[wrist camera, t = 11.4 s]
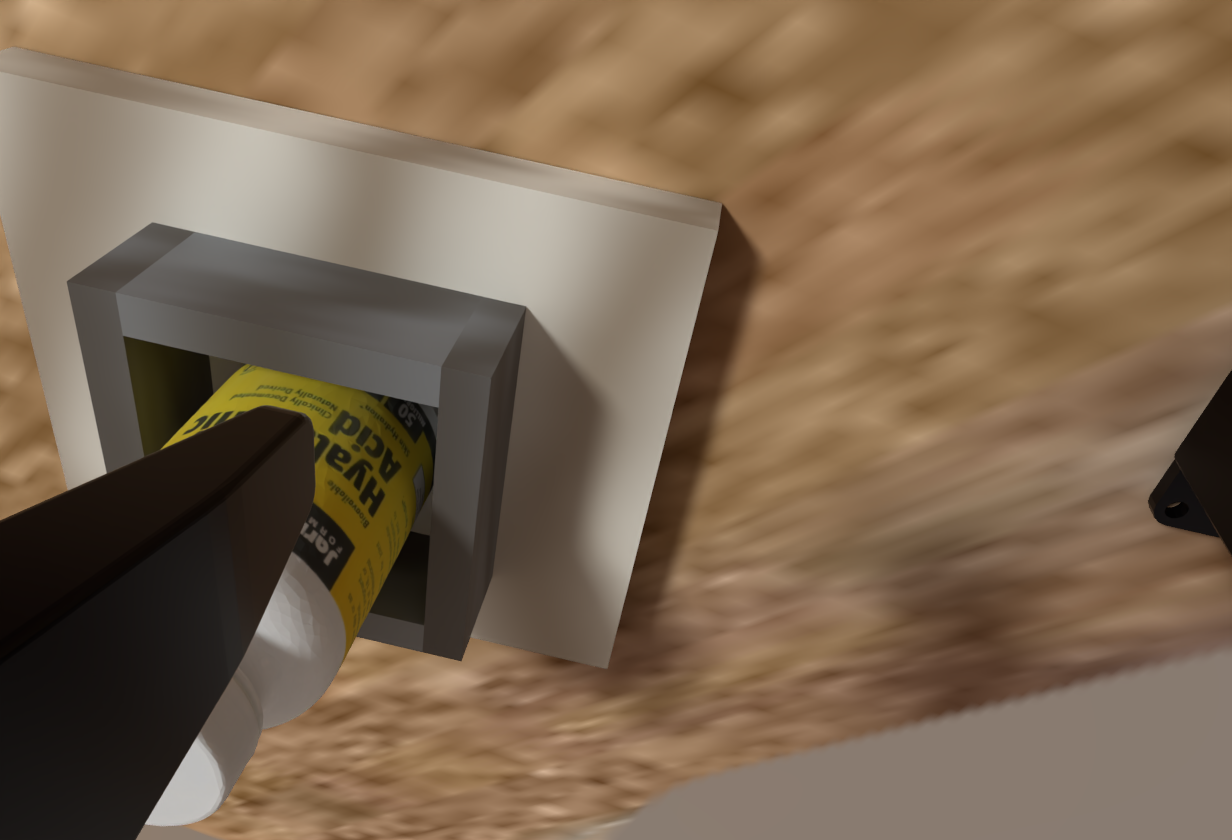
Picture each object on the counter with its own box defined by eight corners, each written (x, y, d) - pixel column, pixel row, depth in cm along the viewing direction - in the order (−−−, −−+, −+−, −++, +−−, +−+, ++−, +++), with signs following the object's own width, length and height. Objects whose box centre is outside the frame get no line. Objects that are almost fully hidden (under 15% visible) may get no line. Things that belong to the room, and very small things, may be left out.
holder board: (722, 203, 20) (708, 298, 16) (614, 630, 28) (589, 758, 24) (12, 46, 20) (-159, 104, 16) (111, 513, 28) (12, 621, 25)
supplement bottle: (478, 386, 22) (301, 735, 14) (413, 533, 25) (239, 888, 17) (260, 287, 21) (-60, 594, 13) (222, 451, 24) (-55, 782, 16)
